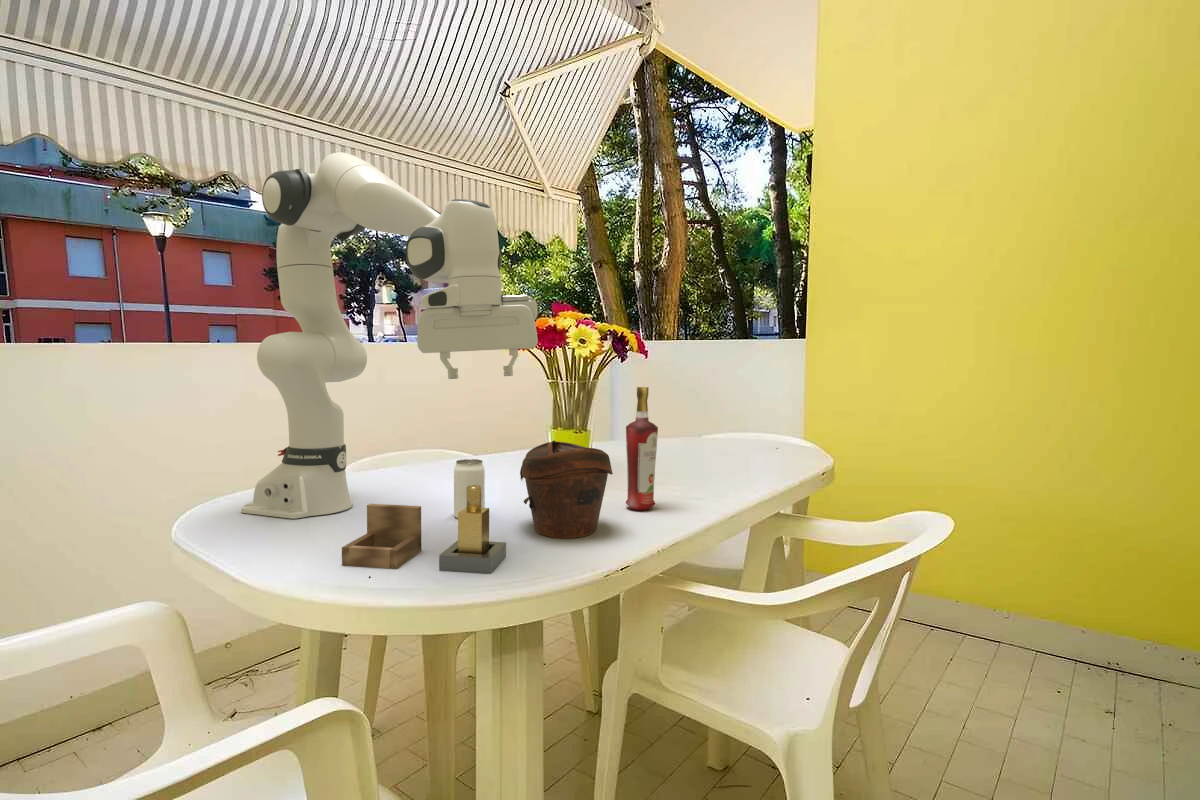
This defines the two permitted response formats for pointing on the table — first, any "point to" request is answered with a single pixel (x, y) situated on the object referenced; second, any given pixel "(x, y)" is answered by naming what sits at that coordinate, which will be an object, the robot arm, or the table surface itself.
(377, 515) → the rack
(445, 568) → the socket block
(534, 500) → the case
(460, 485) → the can
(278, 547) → the table surface
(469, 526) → the brass peg block
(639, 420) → the liquor
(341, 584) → the table surface
